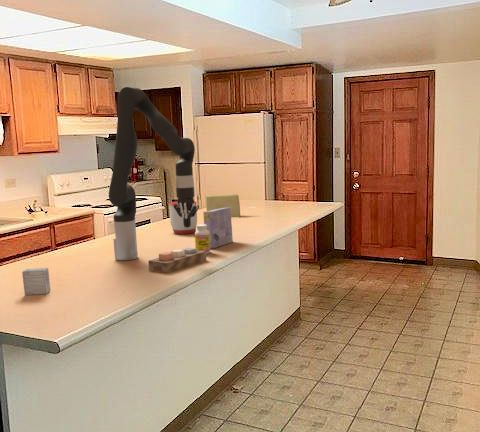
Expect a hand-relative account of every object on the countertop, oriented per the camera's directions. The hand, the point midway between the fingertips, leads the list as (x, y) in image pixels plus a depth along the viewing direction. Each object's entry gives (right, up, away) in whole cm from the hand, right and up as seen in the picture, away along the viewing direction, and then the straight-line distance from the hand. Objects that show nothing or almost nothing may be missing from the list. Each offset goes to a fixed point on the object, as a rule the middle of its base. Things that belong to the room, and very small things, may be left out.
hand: (187, 227), depth 228 cm
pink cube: (-8, -14, -9) cm, 19 cm away
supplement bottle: (+5, -12, +19) cm, 23 cm away
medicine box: (-50, -23, -36) cm, 65 cm away
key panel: (-3, -16, -3) cm, 17 cm away
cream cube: (-3, -14, -4) cm, 15 cm away
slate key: (+1, -13, +2) cm, 14 cm away
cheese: (+12, +4, +127) cm, 128 cm away
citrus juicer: (-8, -5, +74) cm, 75 cm away
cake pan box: (+12, -10, +35) cm, 39 cm away
